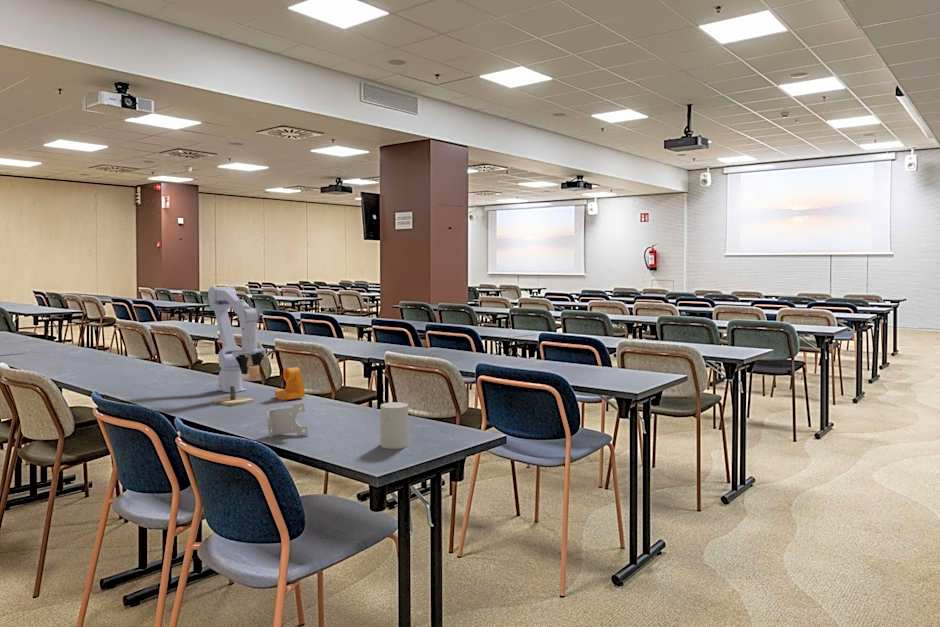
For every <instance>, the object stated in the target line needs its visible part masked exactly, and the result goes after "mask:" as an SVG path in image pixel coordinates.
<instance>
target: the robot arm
mask: <svg viewBox="0 0 940 627" xmlns="http://www.w3.org/2000/svg"><path fill="white" fill-rule="evenodd" d="M207 299H208V301H209V302H208V303H209V306H210V309H211V310H213V311H214V314H215V319H216V324H217V327H218V332H219V336H220V339H221V344H222V348H221V349H220V350H219V351H218V354H217V356H218V357H217V359H218V366H219V368H220V369H221V370H219V373H218V388H217V389H216V390H217V391H220V392H223V393H229V394H230V386H235V393H238V392H243V391H247V390H248V389H247V388H244V387H243V378H241V373H242V374H246V372H247V364H248V361H249V357H248V356H250V357H251V361H252V364H255V365H259V367H260V365H261V362H262V360H263V358H264V354H266V353H267V348H264V347H260V348H259V347H258V335H257V334H258V332H257V330H258V325H257V324H258V323H259V321H260V312H259V309H258V307H257V308H256V307H251V306H250V305H249V304H248V303H247V302H246V301H245V300H244V299H242V298H241V299H240V298H239V297H238V296H237V292H236V288H235V287H234V286H211V287H209V288H208V292H207ZM231 308H232V311H234V313H235V314H236V315H237V316H238V321H239V328H241V347H240V346H238V344H237V343H236V339H235V336H234V332H233V328H232V324H231V320H230V316H229V313H228V310H229V309H231Z"/></svg>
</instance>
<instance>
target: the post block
mask: <svg viewBox="0 0 940 627" xmlns="http://www.w3.org/2000/svg"><path fill="white" fill-rule="evenodd" d="M229 394H230V395H229V396H224V397H218V398H214V399H213V398H212V399H211V403H213V404H214V403H215V404H220V405H225V406H230V407H235V406H238V405H239V406H240V405H244V404H249V403H254V402H255V399H254V398H249V397H244V396H239V395H236V392H235V386H230V393H229Z"/></svg>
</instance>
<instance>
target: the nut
mask: <svg viewBox="0 0 940 627" xmlns="http://www.w3.org/2000/svg"><path fill="white" fill-rule="evenodd" d="M241 378H242V379H245V380H253V379H259V378H260V366H259V365H255V364H253V363H250V364H249V363H247V372H246V374H242V373H241Z"/></svg>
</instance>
